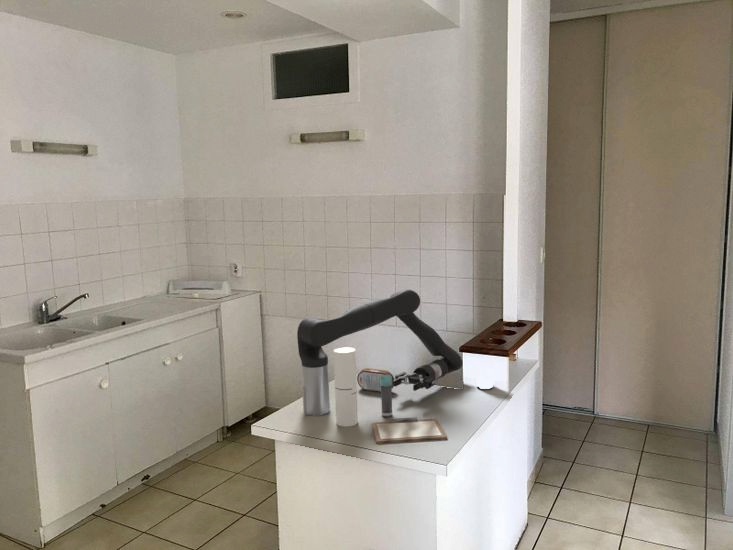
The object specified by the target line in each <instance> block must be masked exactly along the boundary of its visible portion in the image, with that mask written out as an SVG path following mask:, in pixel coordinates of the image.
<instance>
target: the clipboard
mask: <svg viewBox="0 0 733 550" xmlns="http://www.w3.org/2000/svg"><path fill="white" fill-rule="evenodd" d="M371 427H372V430H373V431H372V432H373V436H374V440H375V443H376V444H377V445H378V444H393V443H407V442H409V443H410V442H423V441H426V440H427V441H439V440H438V439H443V440H448V436H447V434H446V432H445V430H444V429H443V427H442V425H441V422H440V421H439V419H438V418H429V419H418V417H416V416H414V417H413V416H412V417H400V418H398V417H396V418H392V421H379V422H377V421H376V422H371Z"/></svg>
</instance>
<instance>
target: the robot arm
mask: <svg viewBox="0 0 733 550" xmlns="http://www.w3.org/2000/svg"><path fill="white" fill-rule="evenodd" d="M420 304H421V298H420V296H419V294H418V293H417V292H416V291H415V290H413V289H404V290H400V291H397V292H395V293H392V294H391V295H390V297H388V298H387V297H386V298H382V299H381V298H380V299H376V300H372V301H367V302H364V303H363V302H362V303H360V304H356V305H353V306H352V307H350V308H348V309H347V310H346V311H344V313H343V314H342V315H340V316H338V317H335V318H330V319H325V320H323V319H322V320H321V319H317V318H313V317H306V318H303V319H302V320H301V321H300V323H299V324H298V327H297V333H296V335H297V336H296V337H297V348H298V355H299V359H300V361H301V373H302V374H301V375H302V376H301V377H302V378H301V380H302V404H303V405H302V407H303V409H302V410H303V415H304V416H323V415H326V414H328V413H330V410H331V407H330V406H331V404H330V403H331V402H330V382H329V381H330V379H329V358H328V355H327V354H326V352H325V351H324V349H323V347H324V346H326V345H328V344H330V343H333V342H334V341H336V340H338V339H341V338H343V337H346V336H349V335H352V334H355V333H358V332H360V331H365V330H367V329H370V328H372V327H374V326H375V327H376V326H378V325H379V324H381V323H384V322H385V321H388V320H390V319H392V318H394V317H397V318H398V319H399V320H400V321H401V322H402V323H403V324H405V326H406V327H407V328H408V329H410V331H411V332H412V333H413V334H414V335H415V336H416V338H418V339H419V341H420V342H421V343H422V345H424V347H425V348H426V349H427V350H428V352H429V353H430V355H432V356H433V357H438V358H437V359H435V360H433V361H431V362H427V363H424V364H422V365H421V366H418V367H416V368H415V369H414V371H412V372H411V373H408V374H407V372H401V373H399V374H396V375H394V379H395V380H394V381H393V386H394V388H395V387H398V386H400V385H403V384H404V385H406V386H407V385H412V386H413V387H412V390H413V391H415V392H416V391H418V390H420V389H424V388H425V389H426V390H428V389H431V388H432V387H434V386H435V385H436V382H437V381H438V380H439V379H442V378H443V377H445V376H446V375H447V374H450V373H453V372H456V371H459V370H460V369H462V367H463V359H462V357H461V355H460V354H459V353H458V352H457V351H456V350H455V349H453V348H452V347H451V346H449V345H448V344H447V343H445V342H444V340H443V338H442V336H440V334H439V333H438V332H437V331H436V330H435V329H434V328H433V327H431V326H430V325H428V324H427V323H426V322H424V321H423V320H422V319H420V318H419V317H418V316H417V315H416V314H415V313H414V312H415V311H417V310H418V308H419V307H420Z"/></svg>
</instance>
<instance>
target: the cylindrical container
mask: <svg viewBox="0 0 733 550" xmlns="http://www.w3.org/2000/svg"><path fill="white" fill-rule="evenodd" d="M356 354H357V353H356V348H354V347H345V346H344V347H338V348H334V349H333V368H334V371H333V372H334V389H335V390H334V391H335V392H334V393H335V397H334V398H335V420H336V423H335V424H336V425H338V426H340V427H344V428H346V427H348V428H349V427H353V426H355V425H357V424H358V420H359V419H358V418H359V417H358V392H357V391H358V390H357V387H358V386H357V384H358V383H357V356H356Z"/></svg>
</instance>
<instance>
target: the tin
mask: <svg viewBox="0 0 733 550" xmlns="http://www.w3.org/2000/svg"><path fill="white" fill-rule="evenodd" d="M381 375H391V376H392V389H393V388H395V386H393V381H394V380H395V376H394V375H393V374H392V373H391V372H390V371H388V370H383V369H376V368H363V369H362V370H361V371H360V372H359V373H358V374H357V375H356V382H357V384H358V386H359V387H360V388H361V389H362V390H365V391H368V390H371V391H370V392H376V391H381V377H380V376H381Z"/></svg>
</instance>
